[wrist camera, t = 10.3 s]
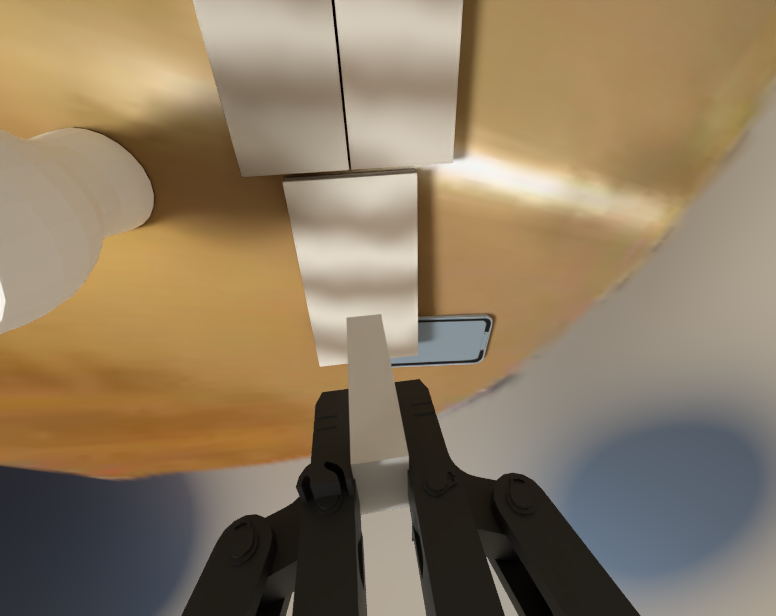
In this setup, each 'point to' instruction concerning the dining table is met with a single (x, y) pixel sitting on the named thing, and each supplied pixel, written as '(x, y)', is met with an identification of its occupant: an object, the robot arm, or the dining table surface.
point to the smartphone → (449, 340)
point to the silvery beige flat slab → (357, 255)
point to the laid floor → (335, 81)
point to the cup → (61, 215)
